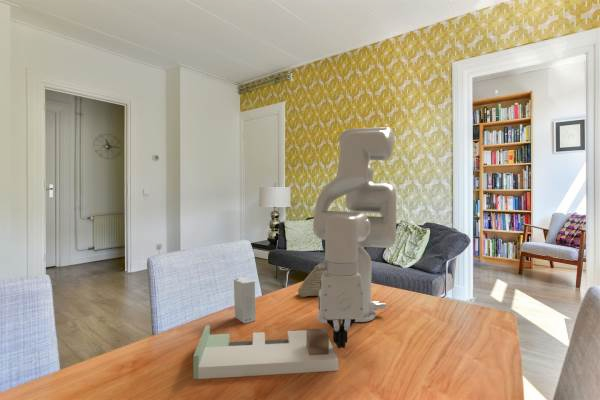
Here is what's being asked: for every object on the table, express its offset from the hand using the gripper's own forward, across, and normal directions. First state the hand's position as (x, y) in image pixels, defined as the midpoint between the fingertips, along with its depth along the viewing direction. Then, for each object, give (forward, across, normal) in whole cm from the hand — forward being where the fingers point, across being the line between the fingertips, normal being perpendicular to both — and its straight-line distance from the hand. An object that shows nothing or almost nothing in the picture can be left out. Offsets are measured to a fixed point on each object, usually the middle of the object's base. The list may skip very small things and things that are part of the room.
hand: (340, 345), depth 75 cm
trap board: (+4, -16, +3) cm, 17 cm away
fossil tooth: (+4, +3, +46) cm, 47 cm away
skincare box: (+4, -23, +26) cm, 35 cm away
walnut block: (+1, -5, 0) cm, 5 cm away
